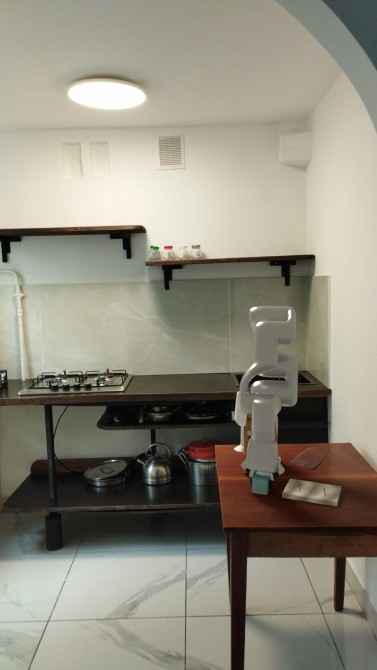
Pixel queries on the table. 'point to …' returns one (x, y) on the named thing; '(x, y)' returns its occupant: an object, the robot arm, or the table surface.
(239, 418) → the champagne flute
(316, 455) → the wooden tablet
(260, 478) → the block
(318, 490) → the birch board
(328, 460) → the table surface
